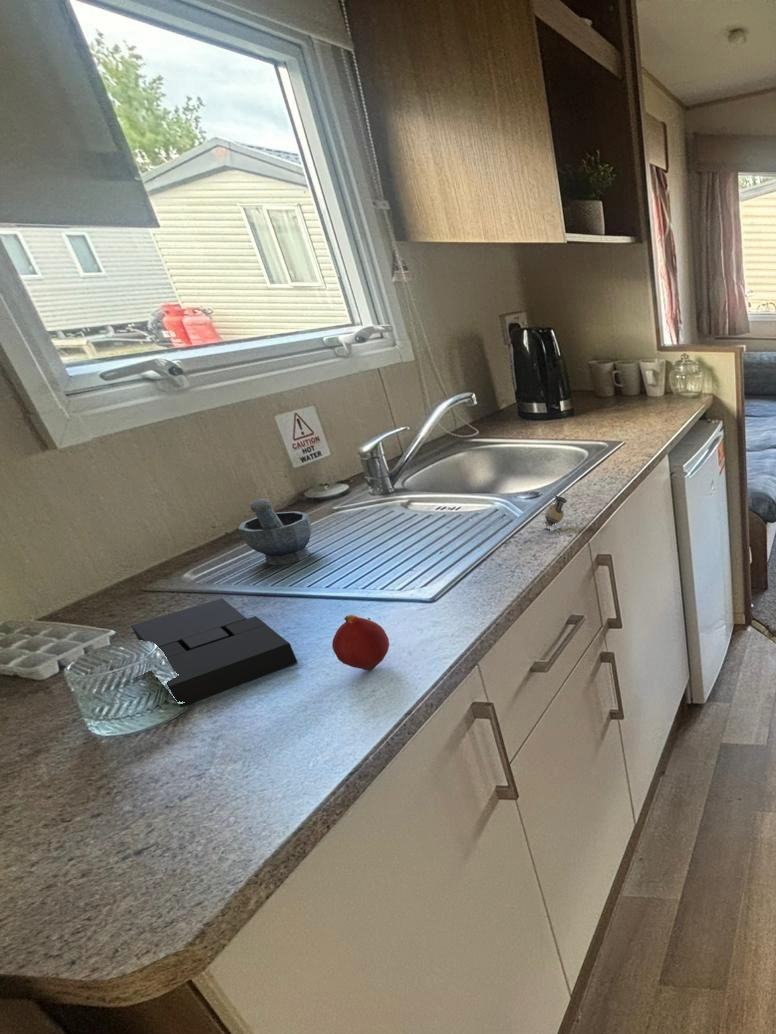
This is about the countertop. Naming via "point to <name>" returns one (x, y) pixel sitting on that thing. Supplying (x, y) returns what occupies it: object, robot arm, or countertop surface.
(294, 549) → the mortar and pestle
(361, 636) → the onion
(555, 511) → the vase
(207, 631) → the pad
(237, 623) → the notch pad
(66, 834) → the countertop surface
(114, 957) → the countertop surface
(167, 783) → the countertop surface
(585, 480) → the countertop surface
